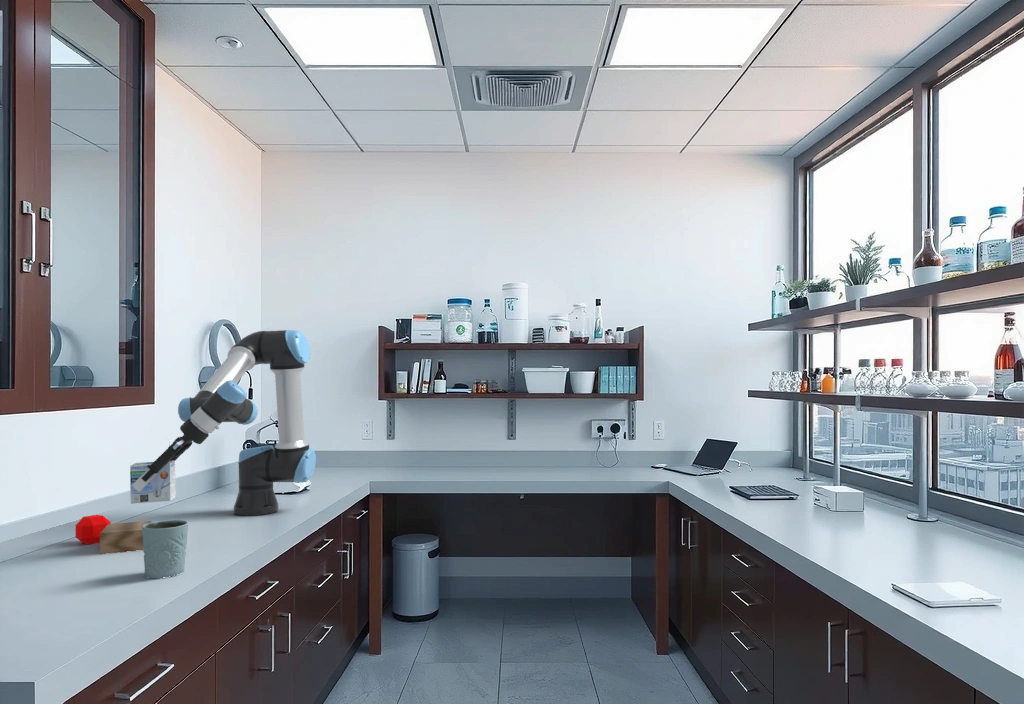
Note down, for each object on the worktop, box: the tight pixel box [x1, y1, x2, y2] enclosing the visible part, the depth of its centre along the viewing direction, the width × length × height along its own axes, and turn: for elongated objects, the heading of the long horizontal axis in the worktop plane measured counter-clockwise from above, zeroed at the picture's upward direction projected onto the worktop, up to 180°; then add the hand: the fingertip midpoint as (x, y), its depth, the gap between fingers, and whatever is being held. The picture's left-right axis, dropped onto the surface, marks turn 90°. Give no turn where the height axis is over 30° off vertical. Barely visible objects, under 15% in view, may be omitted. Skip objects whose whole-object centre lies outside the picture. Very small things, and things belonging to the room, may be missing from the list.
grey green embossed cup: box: [142, 519, 189, 579], centre depth 172 cm, size 10×10×12 cm
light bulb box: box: [129, 460, 176, 505], centre depth 203 cm, size 11×7×11 cm, turn 105°
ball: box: [74, 514, 112, 545], centre depth 210 cm, size 8×8×8 cm
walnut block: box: [99, 520, 152, 555], centre depth 203 cm, size 11×14×6 cm
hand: (139, 486), depth 202 cm, fingers closed on light bulb box, 7 cm apart
